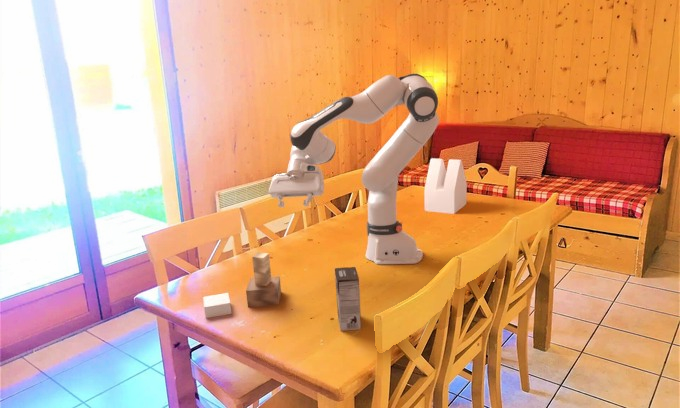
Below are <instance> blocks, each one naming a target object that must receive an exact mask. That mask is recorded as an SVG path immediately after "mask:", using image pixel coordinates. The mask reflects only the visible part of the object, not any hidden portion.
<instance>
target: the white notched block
mask: <svg viewBox="0 0 680 408" xmlns="http://www.w3.org/2000/svg"><path fill="white" fill-rule="evenodd" d="M425 179H426V181H425V184H424V189H423V190H424V196H423V197H424V211H425V212H432V213H434V212H435V213H440V214H452V215H454V214H456V213H457V212H458V211H459V210H460V209H462V208H464V206H465V205H467V189H468V188H467V187H468V186H467V185H468V184H467V179H466V174H465V169H464V165H463V160H462V159H456V158H455V159H454V158H453V159H452V158H451V159H448V163H447V168H446V165H445V162H444V159H443V158H435V157H434V158H433V157H431V158H430V160H429V163H428V170H427V176H426V178H425Z"/></svg>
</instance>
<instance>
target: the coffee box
mask: <svg viewBox="0 0 680 408" xmlns="http://www.w3.org/2000/svg"><path fill="white" fill-rule="evenodd" d="M334 276H335V291H336V308H337V320H338V324H339V329H340V331H341V332H342V331H355V330H361V329H362V322H361V320H362V318H361V314H362V313H361V293H360V292H361V291H360V290H361V289H360V277H359V274H358V271H357V268H356V266H351V267H344V266H343V267H337V268H335V267H334Z"/></svg>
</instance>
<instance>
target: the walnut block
mask: <svg viewBox="0 0 680 408" xmlns="http://www.w3.org/2000/svg"><path fill="white" fill-rule="evenodd" d="M281 287H282V285H281V276H280V275H279V276H271V282H270V283H269V284H268V285H267V286H257V285H255V278H254V277H250V278H249V280H248V284H247V288H246V290H245V292H246V302H247V307H248V308H254V307H267V306H268V307H271V306H279V305H280V299H281V295H282V288H281Z"/></svg>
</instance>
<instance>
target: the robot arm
mask: <svg viewBox="0 0 680 408" xmlns="http://www.w3.org/2000/svg"><path fill="white" fill-rule="evenodd" d="M404 105H405V107H406V108H407V111H408V112H409V114H408V116H407V117H406V119H405V120H404V121H403V122H402V123H401V125H400V126H399V127H398V128H397V130H396V131H394V132H393V134H392V136H391V137H390V138H389V139H388V141H387V142H386V143H384V145H383V146H382V147H381V149H380V150H378V151H377V152H376V154H375V155H374V156H373V158H372V159H371V160H370V161H369V162H368V164H366V166H365V167H364V168H363V171H362V174H361V183H362V185H363V187H364V188H365V189H366V190H367V191H368V198H367V222H366V233H367V247H366V252H365V258H366V259H367V260H369V261H371V262H374V263H375V264H376V265H410V264H413V265H414V264H417V263H420V262H421V260H423V258H424V257H423V256H424V252H423V250H422V249H420V248H418V246H417V243H416V240H415V238H414V237H412V236H411V235H410V234H408V232H406V231H404V230H403V222H402V221H398V220H397V198H398V197H397V195H398V183H399V175H400V173H401V172H403V170H404V169H405V168H406V167H407V165H408V164H410V162H411V161H412V159H413V158H414V157H415V156H416V155H417V154H418V152H419V151H420V150H421V149H422V148H423V147H424V145H425V144H426V143H427V142H428V140H429V139H430V138H431V137H432V135H433V134H434V133H435V130H437V127H438V126H439V123H440V118H439V117H440V116H439V115H438V114H437V109H438V105H439V98H438V95H437V93H436V91H435V89H434V87H433V85H432V84H431V83H430V82H429V81H428V79H426V77H424V75H421V74H418V73H410V74H409V73H408V74H407V75H404V76H400V77H397V76H395V75H393V74H386V75H384V76H383V77H382V78H379V79H378V80H376V81H375V82H373V83H372V84H371V85H369V86H368V87H367V88H366V89H365V90H363V91H362V92H360V93H357V94H355V95H353V96H344V97H342V98H339V99H337V100H335V102H332V103H331V104H329V105H328V106H326V107H325V108H323V109H321V110H320V111H318V112H316V113H315V114H314V115H312V116H310V117H309V118H306V119H303V120H302V121H299V122H297V123H296V124H295V125H294V126H293V127H292V128H291V131H290V143H291V148H290V153H289V161H288V165H287V170H286V173H277V174H275V175H273V176H272V177H271V182H270V185H269V188H268V193H269V195H270V196H271V197H272V199H273V198H274V199H277V200H278V207H279V208H284V207H285V201H284V200H283V198H296V197H297V198H299V197H300V198H301V197H306V199H303V203H302V204H303V206H304V207H309V206H310V202H312V200H313V199H314V197H315V196H316V197H317V196H319V197H320V196H322V195H323V194H324V192H325V181H324V174H323V171H322V170H321V168H320V167H319V166H318V165H322V164H326V163H329V162H330V161H332V159H333V158H334V156H335V153H336V149H337V148H336V147H337V146H336V143H335V142H334V141H333V140H332V139H331V138H329V137H328V136H327V135H326V134H324V133H323V132H322V131H321V130H322V129H324V128H326V127H327V126H329V125H331V124H332V123H333V122H335V121H338V120H341V119H342V120H343V119H345V120H346V119H347V120H351V121H354V122H357V123H360V124H362V125H363V124H364V125H365V124H366V125H368V124H369V125H370V124H373V123H375V122H377V121H379V120H381V119H382V118H383V117H384V116H385V115H386V114H388V113H389V112H390V111H391V110H392V109H394V108H395V107H398V106H404Z"/></svg>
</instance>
